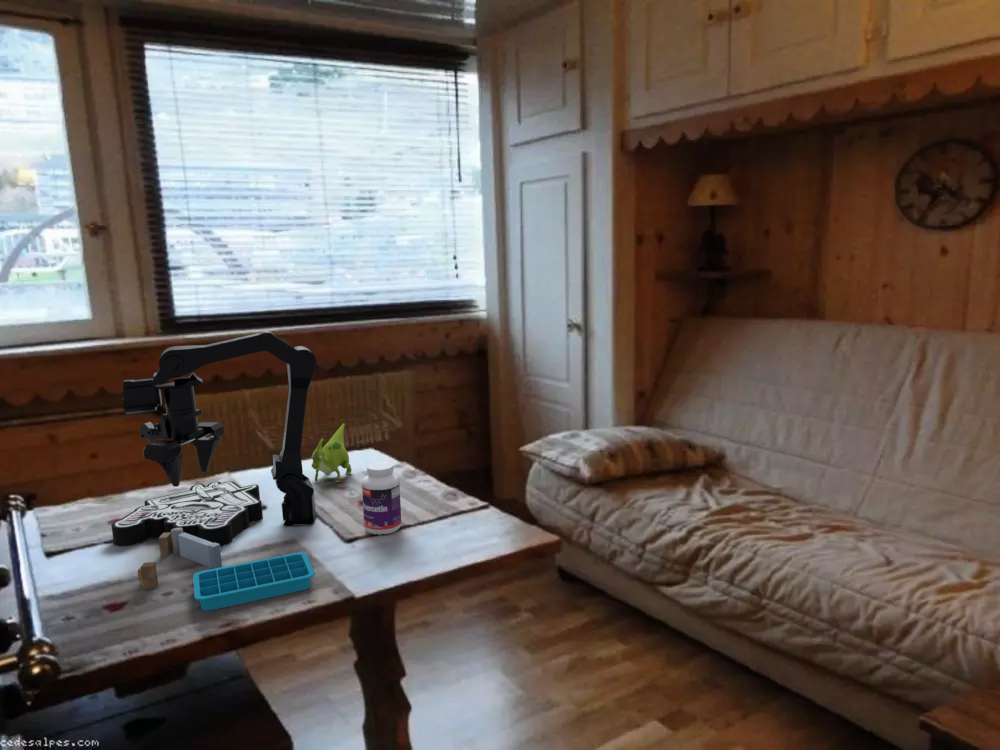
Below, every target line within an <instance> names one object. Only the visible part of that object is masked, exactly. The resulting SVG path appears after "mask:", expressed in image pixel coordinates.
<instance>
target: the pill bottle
mask: <svg viewBox="0 0 1000 750" xmlns="http://www.w3.org/2000/svg"><path fill="white" fill-rule="evenodd" d="M366 472H367V474H366V475H365V477H363V479H362V481H361V488H362V490H361V491H362V492H361V493H362V507H363V508H362V511H363V527H364V529H365V531H366V532H367V533H369V534H371V533H372V534H371V535H376V534H377V536H378V535H379V536H381V535H382V534H384V535H389V534H392V533H395V532H397V531H398V530H399V529H401V526H402V507H401V505H402V504H401V485H400V484H401V483H400V478H399V477H398V475H397V474H396V473H393V472H394V464H393V463H392V462H385V461H381V462H373V463H370V464H368V465H367V467H366ZM382 536H383V535H382Z"/></svg>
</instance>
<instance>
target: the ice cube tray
mask: <svg viewBox="0 0 1000 750" xmlns="http://www.w3.org/2000/svg"><path fill="white" fill-rule="evenodd" d="M315 575H316V573H315V570H314V568H313V565H312V563H311V562H310V559H309V557H308V554H307V553H306V552H302V551H298V552H294V553H288V554H284V555H278V556H273V557H267V558H263V559H258V560H252V561H247V562H242V563H238V564H232V565H226V566H222V567H220V568H215V569H213V568H210V569H206V570H201V571H198V572H194V574H192V578H193V590H194V591H193V592H194V600H195V601H198V602H199V603H200V607H201V610H202V611H206V612H207V611H212V610H217V609H221V608H222V609H223V608H226V607H231V606H237V605H241V604H244V603H250V602H254V601H258V600H259V599H260V600H263V599H269V598H273V597H277V596H282V594H283V595H287V594H292V593H297V592H301V591H304V590H307V588H308V589H309V588H310V587H311V578H313V577H315ZM300 590H301V591H300ZM296 591H297V592H296Z"/></svg>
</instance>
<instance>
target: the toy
mask: <svg viewBox="0 0 1000 750" xmlns="http://www.w3.org/2000/svg"><path fill="white" fill-rule="evenodd" d="M345 426H346V424H345V423H342V424H341V426H340V427H339V428H338V429H337V430H336V431H335V433H334V434H333V435H332V437H330V439H329V440H328V441H327V442H326V443H325V445H323V441H324V438H323V437H321V439H320V441H319V442H318V444H317V446H316V448H315V450H313V452H312V455H311V460H312V463H311V468H312V469H313V470H315V475H314V483H318V482H319V480H318V478H319V472H321V473H323V474H326V475H330V474H332V473H334V472H335V473H336V474H337V475H336V476H337V477H336V481H335V483H336V482H340V477H341V472H340V470H339V467H341V468H342V469H346V471H345V475H347V474H348V475H351V473H352V470H353V469H352V467H351V464H350V457H349V456H350V455H349V453H348V452H347V450H346V448H345V440H344V439H345V438H344V433H345V431H344V430H345ZM340 483H341V482H340Z"/></svg>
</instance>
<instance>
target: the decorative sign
mask: <svg viewBox="0 0 1000 750" xmlns="http://www.w3.org/2000/svg"><path fill="white" fill-rule="evenodd" d="M263 515H264V514H263V503H262V500H261V496H260V486H259V484H251V485H245V486H241V485H240V484H238V483H236V482H235V481H230V480H229V481H224V482H221V481H212V482H210V483H208V484H207V485H205V484H203V483H198V484H193V485H191V486H190V488H189V490H185V491H180V492H177V493H176V492H175V493H171V494H167V495H162V496H158V497H154V498H153V497H152V498H149V499H145V501H144V505H142V506H139V507H136V508H135V509H134V510H133V511H131V512H129V514H127V515H125V516H124V517H122V518H120V519H117V520H116V521H114V522H112V523H111V525H110V526H111V533H112V540H113V545H114V546H116V547H121V548H122V547H130V546H135V545H139V544H141V543H143V542H145V541H146V540H147V539H148V538H154V539H159V537H160V536H161V535H162V534H163V533H168V532H171V530H172V529H174V528H183V533H184V532H185V533H187V534H190V535H193V536H196V537H198V538H201V539H204V540H207V541H209V542H212V543H218V544H220V548H221V547H224V546H228V545H230V544H231V543H232V542H233V540H234V539H235V538H237V536H238V535H240V534H241V533H242V532H243V531H244V530H247V529H248V528H250V524H251V523H256V522H259V521H262V520H263V519H264V516H263Z"/></svg>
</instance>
